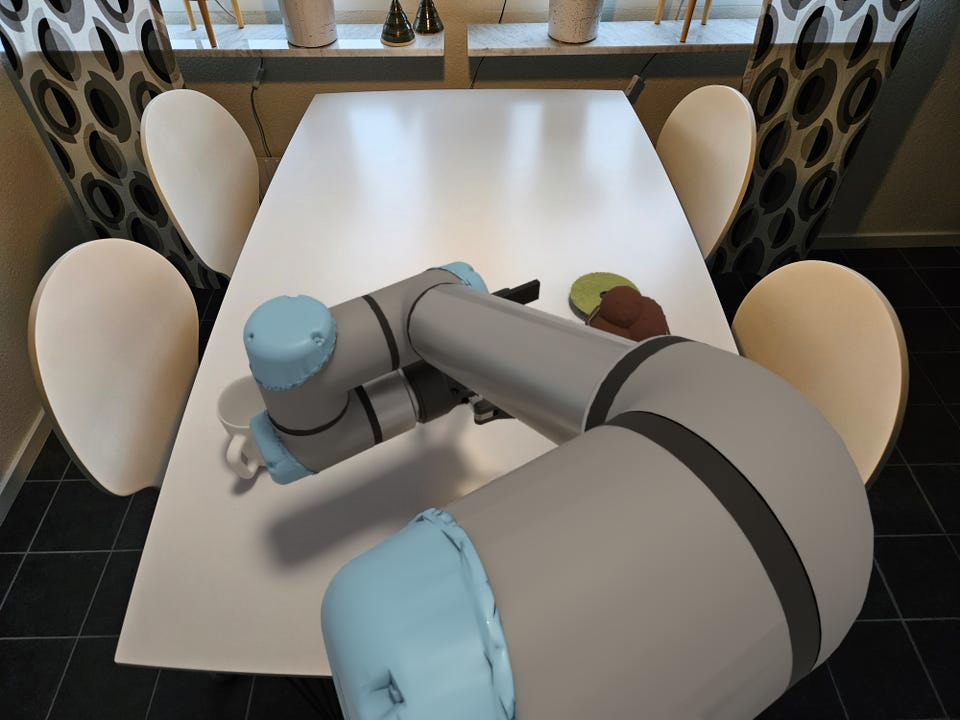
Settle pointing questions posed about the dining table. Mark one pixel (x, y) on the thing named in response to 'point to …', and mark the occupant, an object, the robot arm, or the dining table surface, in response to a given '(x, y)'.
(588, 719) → the robot arm
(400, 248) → the dining table surface
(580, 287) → the mat
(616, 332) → the ice cream bowl
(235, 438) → the mug
